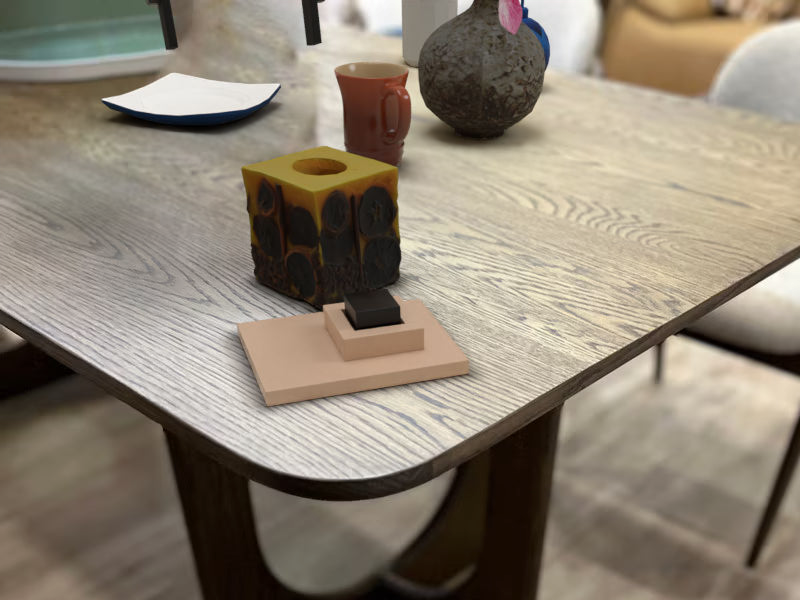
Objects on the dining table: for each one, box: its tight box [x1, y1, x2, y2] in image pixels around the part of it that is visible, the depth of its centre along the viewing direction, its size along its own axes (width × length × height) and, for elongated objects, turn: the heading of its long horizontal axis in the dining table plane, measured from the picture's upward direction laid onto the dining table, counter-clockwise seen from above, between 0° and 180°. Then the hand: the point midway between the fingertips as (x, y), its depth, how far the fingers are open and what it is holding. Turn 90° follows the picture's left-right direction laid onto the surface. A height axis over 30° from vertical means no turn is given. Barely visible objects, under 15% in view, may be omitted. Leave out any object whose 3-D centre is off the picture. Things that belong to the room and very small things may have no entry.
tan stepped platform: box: [236, 294, 470, 407], centre depth 67 cm, size 16×12×3 cm
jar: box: [401, 0, 459, 68], centre depth 144 cm, size 10×10×18 cm
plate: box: [101, 72, 282, 126], centre depth 122 cm, size 20×20×3 cm
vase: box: [417, 0, 546, 140], centre depth 107 cm, size 17×18×30 cm
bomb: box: [520, 0, 551, 72], centre depth 132 cm, size 10×11×15 cm
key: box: [344, 288, 401, 331], centre depth 66 cm, size 4×4×2 cm
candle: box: [240, 145, 403, 311], centre depth 75 cm, size 10×10×10 cm
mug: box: [333, 61, 412, 168], centre depth 101 cm, size 12×9×10 cm
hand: (245, 47), depth 80 cm, fingers open, 13 cm apart
